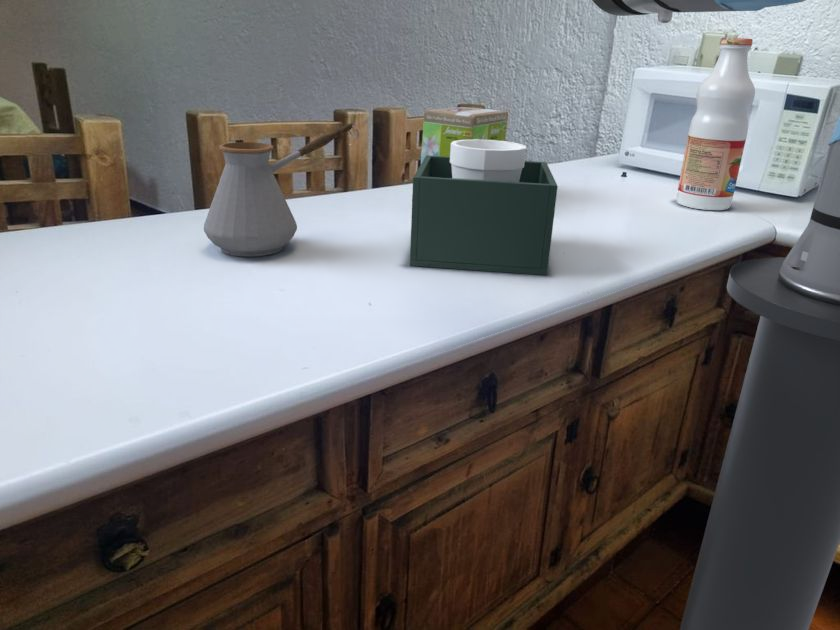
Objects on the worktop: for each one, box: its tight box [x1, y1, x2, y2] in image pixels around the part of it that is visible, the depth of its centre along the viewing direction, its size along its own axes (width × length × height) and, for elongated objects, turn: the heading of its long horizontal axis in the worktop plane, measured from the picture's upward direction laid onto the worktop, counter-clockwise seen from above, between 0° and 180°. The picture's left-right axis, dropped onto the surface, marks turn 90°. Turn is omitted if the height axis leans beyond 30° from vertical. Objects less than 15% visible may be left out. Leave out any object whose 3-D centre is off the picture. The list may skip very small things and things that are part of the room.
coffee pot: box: [203, 123, 360, 258], centre depth 84 cm, size 21×12×15 cm, turn 127°
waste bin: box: [409, 155, 558, 276], centre depth 85 cm, size 17×17×11 cm
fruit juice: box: [675, 37, 756, 211], centre depth 114 cm, size 9×9×28 cm
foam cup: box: [450, 139, 527, 182], centre depth 84 cm, size 10×9×13 cm
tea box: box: [420, 106, 509, 164], centre depth 118 cm, size 15×10×15 cm
